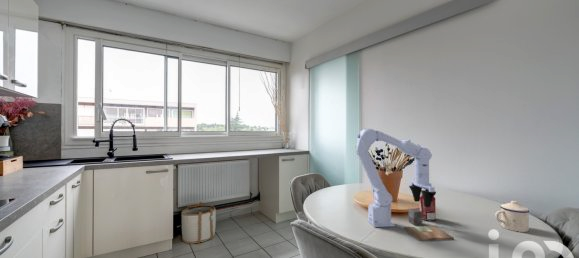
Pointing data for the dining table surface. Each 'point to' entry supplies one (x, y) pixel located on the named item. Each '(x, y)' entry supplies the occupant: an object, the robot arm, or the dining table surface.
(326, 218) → the dining table surface
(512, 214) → the teacup with lid
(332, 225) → the dining table surface
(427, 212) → the soda can
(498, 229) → the dining table surface
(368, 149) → the robot arm
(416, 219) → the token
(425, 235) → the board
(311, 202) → the dining table surface
